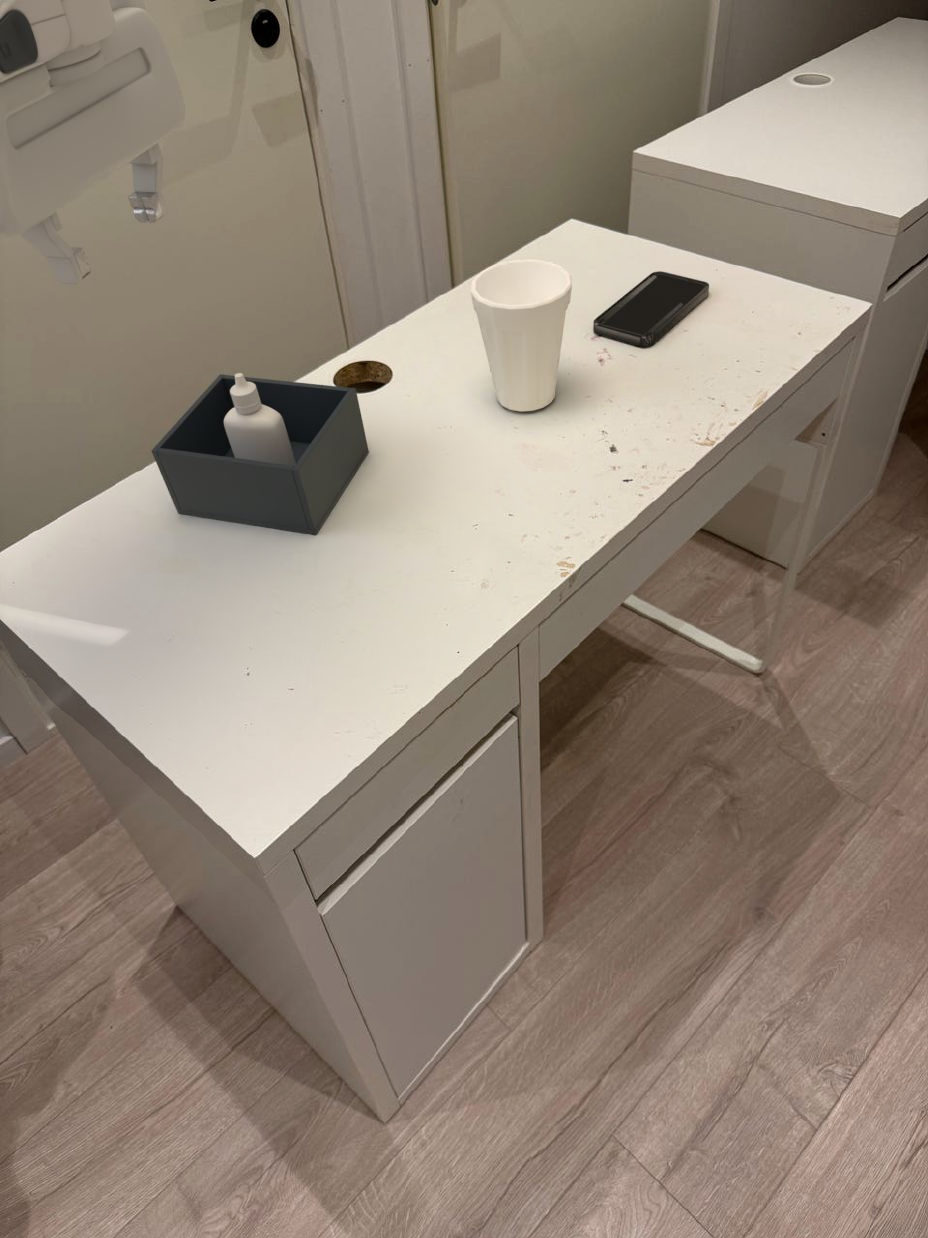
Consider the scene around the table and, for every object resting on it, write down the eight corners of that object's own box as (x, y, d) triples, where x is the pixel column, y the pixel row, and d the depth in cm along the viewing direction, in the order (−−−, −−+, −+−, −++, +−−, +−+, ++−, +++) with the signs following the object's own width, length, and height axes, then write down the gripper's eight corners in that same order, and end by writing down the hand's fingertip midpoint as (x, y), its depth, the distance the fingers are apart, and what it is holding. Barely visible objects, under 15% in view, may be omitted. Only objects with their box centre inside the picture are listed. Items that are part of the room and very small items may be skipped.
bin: (177, 513, 87) (150, 450, 82) (240, 435, 96) (220, 373, 90) (316, 535, 83) (297, 470, 78) (369, 452, 91) (355, 387, 86)
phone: (589, 323, 103) (655, 269, 110) (589, 332, 103) (655, 278, 111) (649, 340, 99) (713, 283, 106) (648, 349, 100) (712, 292, 107)
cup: (590, 387, 96) (591, 270, 86) (540, 435, 91) (536, 316, 81) (513, 364, 100) (507, 251, 91) (461, 408, 95) (449, 293, 86)
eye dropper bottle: (272, 459, 91) (240, 354, 82) (306, 480, 88) (276, 374, 79) (238, 480, 89) (201, 375, 80) (271, 502, 86) (236, 396, 77)
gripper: (87, -35, 58) (156, 186, 68) (-147, 57, 45) (-19, 314, 55) (171, -38, 56) (229, 189, 66) (-48, 57, 43) (66, 322, 53)
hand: (116, 247), depth 60 cm, fingers open, 8 cm apart
